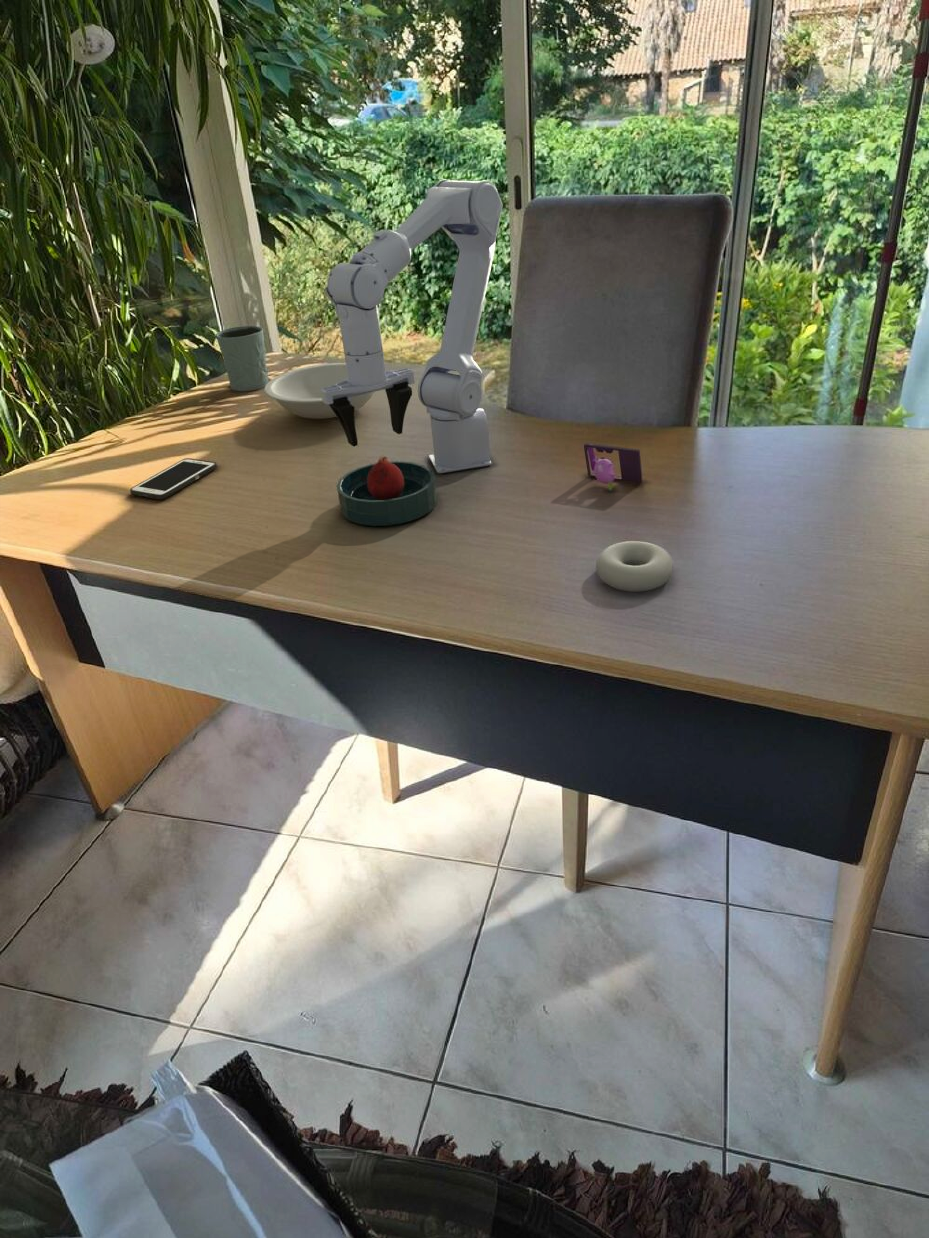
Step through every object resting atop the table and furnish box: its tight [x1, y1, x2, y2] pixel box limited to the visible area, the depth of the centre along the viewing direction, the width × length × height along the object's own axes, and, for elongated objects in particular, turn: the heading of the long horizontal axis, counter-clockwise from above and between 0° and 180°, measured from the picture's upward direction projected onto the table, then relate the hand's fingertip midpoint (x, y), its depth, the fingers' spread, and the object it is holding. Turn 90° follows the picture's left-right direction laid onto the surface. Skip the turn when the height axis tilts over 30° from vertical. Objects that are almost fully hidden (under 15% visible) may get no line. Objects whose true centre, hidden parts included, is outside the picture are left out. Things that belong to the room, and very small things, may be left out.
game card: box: [583, 442, 643, 491], centre depth 137 cm, size 7×5×9 cm
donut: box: [595, 540, 674, 593], centre depth 114 cm, size 10×3×10 cm
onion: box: [367, 455, 404, 500], centre depth 136 cm, size 6×6×8 cm
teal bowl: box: [336, 460, 438, 527], centre depth 137 cm, size 15×15×4 cm
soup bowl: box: [263, 362, 375, 420], centre depth 176 cm, size 24×24×7 cm
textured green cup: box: [215, 325, 270, 392], centre depth 194 cm, size 10×10×12 cm
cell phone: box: [129, 457, 218, 500], centre depth 153 cm, size 8×15×1 cm, turn 153°
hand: (375, 438), depth 135 cm, fingers open, 7 cm apart
